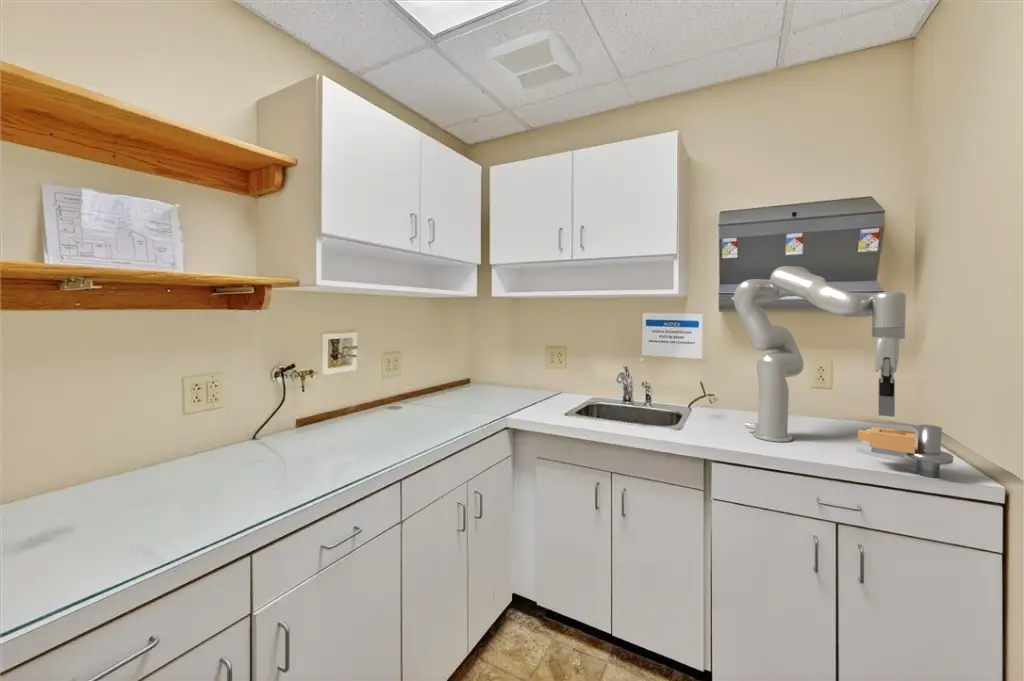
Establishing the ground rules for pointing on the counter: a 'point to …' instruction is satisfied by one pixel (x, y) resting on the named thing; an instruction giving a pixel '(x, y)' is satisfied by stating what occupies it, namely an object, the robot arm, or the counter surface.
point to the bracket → (889, 439)
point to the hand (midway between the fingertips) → (886, 395)
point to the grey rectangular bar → (887, 403)
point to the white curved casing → (866, 449)
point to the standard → (925, 452)
